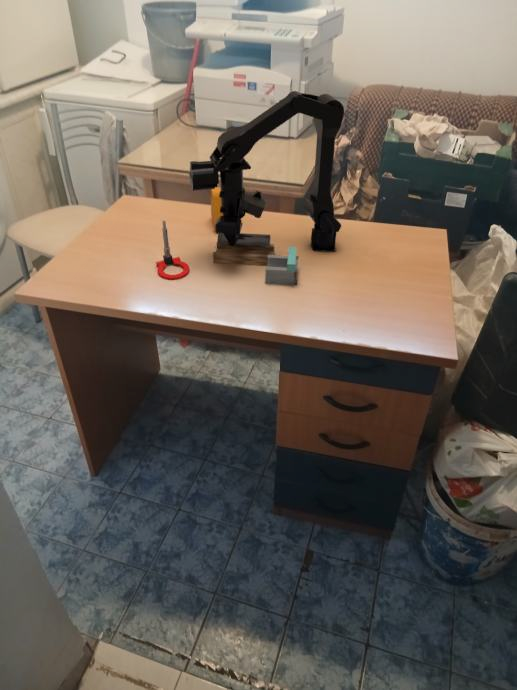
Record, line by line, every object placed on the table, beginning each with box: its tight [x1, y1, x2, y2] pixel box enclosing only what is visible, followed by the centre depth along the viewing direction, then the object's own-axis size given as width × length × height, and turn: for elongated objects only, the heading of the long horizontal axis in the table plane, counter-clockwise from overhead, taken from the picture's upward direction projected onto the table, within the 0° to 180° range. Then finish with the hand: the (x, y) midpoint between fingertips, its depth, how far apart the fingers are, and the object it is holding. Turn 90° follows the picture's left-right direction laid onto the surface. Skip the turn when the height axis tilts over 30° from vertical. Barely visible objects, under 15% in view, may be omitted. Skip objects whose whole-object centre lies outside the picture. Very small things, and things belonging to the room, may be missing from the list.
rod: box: [217, 232, 271, 248], centre depth 138 cm, size 14×4×4 cm, turn 85°
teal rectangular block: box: [287, 246, 297, 272], centre depth 130 cm, size 2×9×2 cm, turn 175°
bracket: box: [210, 186, 223, 232], centre depth 152 cm, size 11×7×12 cm, turn 11°
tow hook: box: [155, 220, 191, 281], centre depth 131 cm, size 8×13×9 cm
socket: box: [264, 254, 299, 286], centre depth 132 cm, size 8×8×4 cm
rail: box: [212, 240, 275, 267], centre depth 140 cm, size 16×8×3 cm, turn 85°
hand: (233, 242), depth 138 cm, fingers closed on rod, 4 cm apart
